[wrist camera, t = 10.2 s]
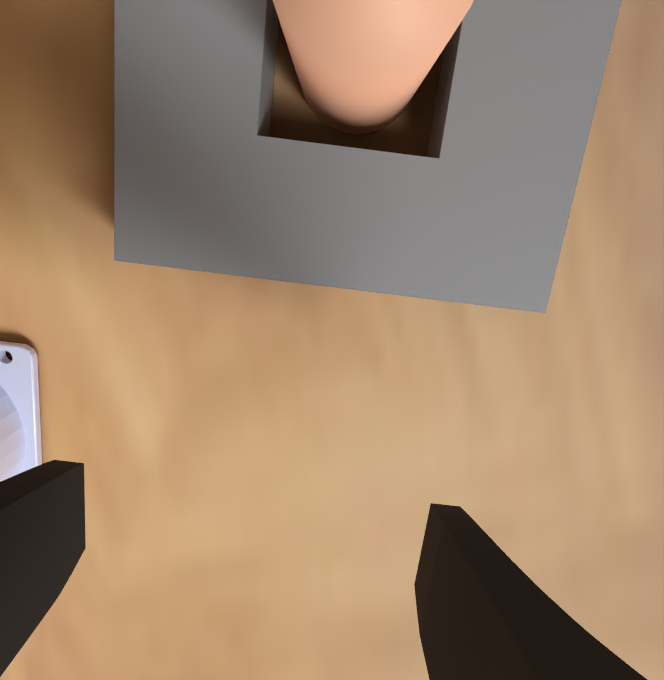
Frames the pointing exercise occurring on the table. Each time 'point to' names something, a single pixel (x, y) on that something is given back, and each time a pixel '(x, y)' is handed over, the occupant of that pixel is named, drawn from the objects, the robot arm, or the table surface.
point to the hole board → (355, 155)
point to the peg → (365, 54)
